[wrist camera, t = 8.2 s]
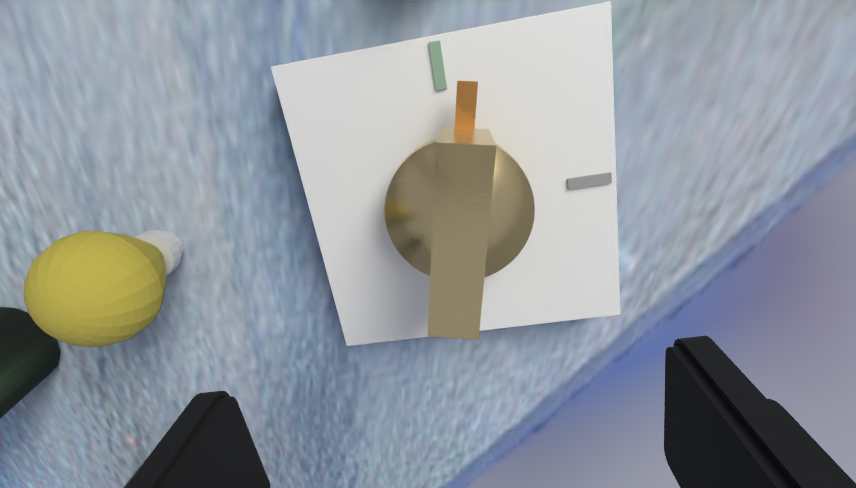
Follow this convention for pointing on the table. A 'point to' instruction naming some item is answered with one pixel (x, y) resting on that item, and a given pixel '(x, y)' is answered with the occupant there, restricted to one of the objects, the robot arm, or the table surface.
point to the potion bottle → (23, 356)
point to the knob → (459, 216)
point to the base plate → (495, 110)
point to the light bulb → (100, 285)
